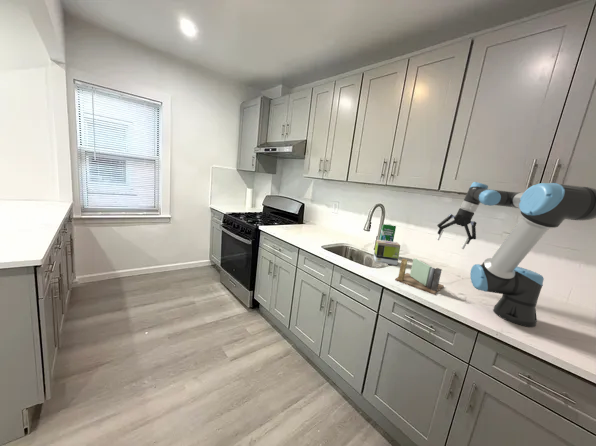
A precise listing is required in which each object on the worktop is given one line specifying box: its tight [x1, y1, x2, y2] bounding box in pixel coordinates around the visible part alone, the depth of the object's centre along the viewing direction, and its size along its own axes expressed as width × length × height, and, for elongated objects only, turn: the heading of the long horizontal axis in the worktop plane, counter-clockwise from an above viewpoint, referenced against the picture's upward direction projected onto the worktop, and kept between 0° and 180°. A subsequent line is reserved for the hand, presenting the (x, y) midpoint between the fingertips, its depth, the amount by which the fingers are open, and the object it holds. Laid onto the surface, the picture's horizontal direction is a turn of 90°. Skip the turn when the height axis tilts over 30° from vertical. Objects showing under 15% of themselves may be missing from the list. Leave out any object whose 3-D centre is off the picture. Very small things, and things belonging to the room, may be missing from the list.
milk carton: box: [378, 223, 397, 242], centre depth 192 cm, size 9×9×25 cm
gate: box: [409, 257, 436, 288], centre depth 141 cm, size 17×2×11 cm, turn 10°
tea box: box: [373, 239, 401, 266], centre depth 176 cm, size 15×10×15 cm, turn 80°
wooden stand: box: [394, 258, 444, 296], centre depth 141 cm, size 21×18×13 cm
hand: (449, 243), depth 144 cm, fingers open, 13 cm apart
